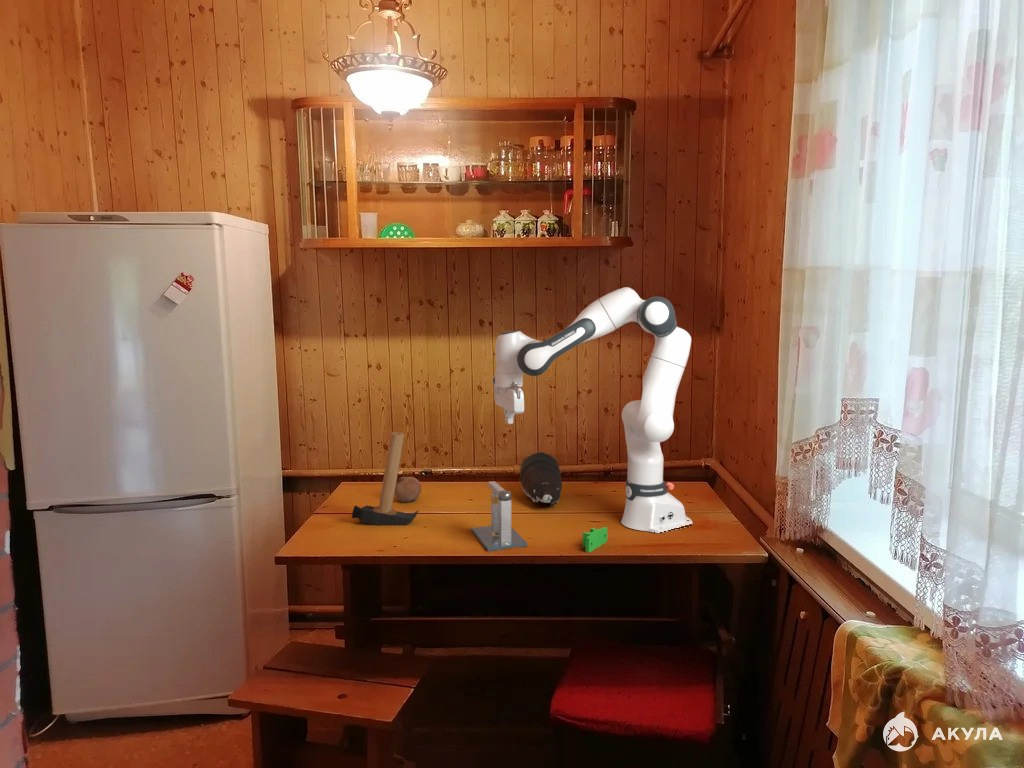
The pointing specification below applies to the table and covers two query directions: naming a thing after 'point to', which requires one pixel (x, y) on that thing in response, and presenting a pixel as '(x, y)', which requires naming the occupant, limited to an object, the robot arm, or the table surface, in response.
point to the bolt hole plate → (491, 539)
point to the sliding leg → (494, 512)
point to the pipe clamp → (594, 538)
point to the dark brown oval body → (541, 478)
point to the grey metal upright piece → (503, 512)
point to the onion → (407, 489)
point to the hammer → (387, 492)
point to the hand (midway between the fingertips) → (509, 422)
